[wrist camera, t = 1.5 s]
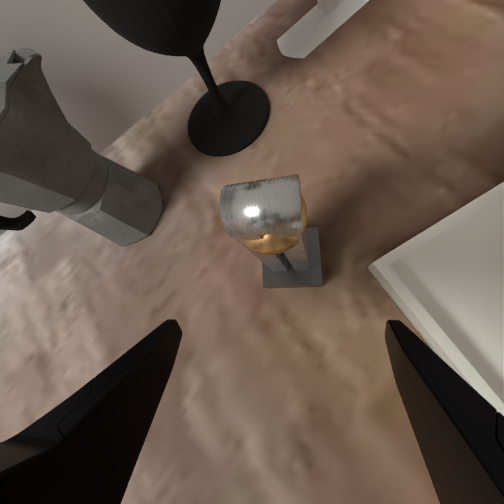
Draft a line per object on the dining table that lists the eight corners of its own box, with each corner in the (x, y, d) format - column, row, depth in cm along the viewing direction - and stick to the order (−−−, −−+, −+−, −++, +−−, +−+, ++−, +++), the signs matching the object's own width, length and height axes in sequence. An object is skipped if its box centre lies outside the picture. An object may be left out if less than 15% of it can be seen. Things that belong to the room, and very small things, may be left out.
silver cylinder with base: (322, 286, 21) (329, 252, 8) (267, 288, 22) (198, 261, 9) (317, 233, 22) (318, 129, 9) (266, 238, 23) (202, 152, 10)
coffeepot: (152, 152, 30) (-58, -45, 13) (191, 198, 27) (-23, 11, 10) (69, 233, 31) (-233, 143, 14) (97, 287, 28) (-253, 254, 11)
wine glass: (244, 167, 26) (50, -204, 7) (174, 145, 29) (-78, -143, 11) (284, 90, 27) (208, -419, 8) (212, 77, 30) (42, -298, 12)
